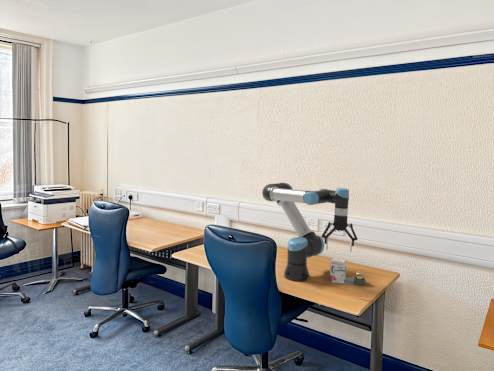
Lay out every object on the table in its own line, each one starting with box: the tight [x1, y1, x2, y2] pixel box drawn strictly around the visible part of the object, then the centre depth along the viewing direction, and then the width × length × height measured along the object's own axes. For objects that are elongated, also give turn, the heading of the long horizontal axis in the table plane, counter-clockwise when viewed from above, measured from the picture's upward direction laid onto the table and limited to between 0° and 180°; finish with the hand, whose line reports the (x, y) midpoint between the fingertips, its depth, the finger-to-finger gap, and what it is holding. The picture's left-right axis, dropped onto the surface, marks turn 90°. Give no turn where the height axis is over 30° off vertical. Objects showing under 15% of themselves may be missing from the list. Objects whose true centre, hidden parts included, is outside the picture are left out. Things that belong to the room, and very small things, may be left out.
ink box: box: [329, 257, 347, 282], centre depth 223 cm, size 9×5×12 cm, turn 63°
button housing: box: [353, 275, 366, 286], centre depth 219 cm, size 6×6×3 cm
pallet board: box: [330, 276, 366, 286], centre depth 223 cm, size 19×11×1 cm, turn 79°
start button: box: [355, 271, 365, 280], centre depth 219 cm, size 4×4×6 cm
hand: (338, 250), depth 222 cm, fingers open, 13 cm apart
